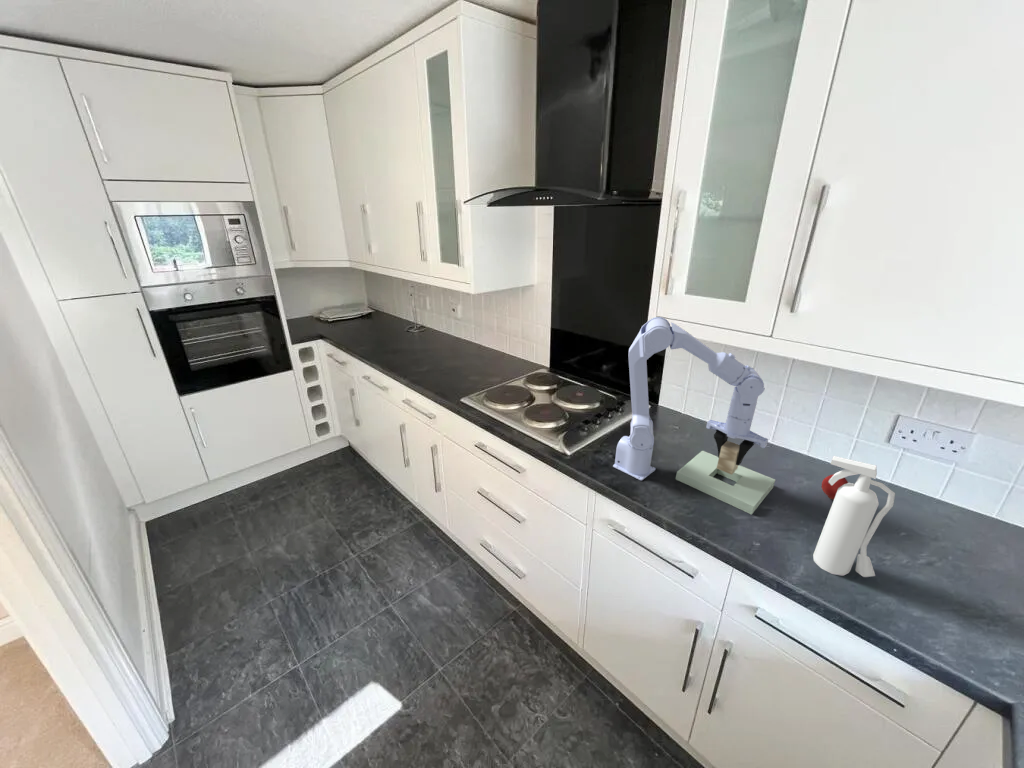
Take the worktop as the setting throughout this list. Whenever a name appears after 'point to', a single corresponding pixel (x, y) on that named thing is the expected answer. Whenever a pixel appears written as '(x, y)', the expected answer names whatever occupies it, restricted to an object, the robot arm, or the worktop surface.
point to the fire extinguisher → (851, 520)
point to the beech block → (728, 457)
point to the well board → (740, 495)
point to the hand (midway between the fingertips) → (729, 460)
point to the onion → (832, 486)
